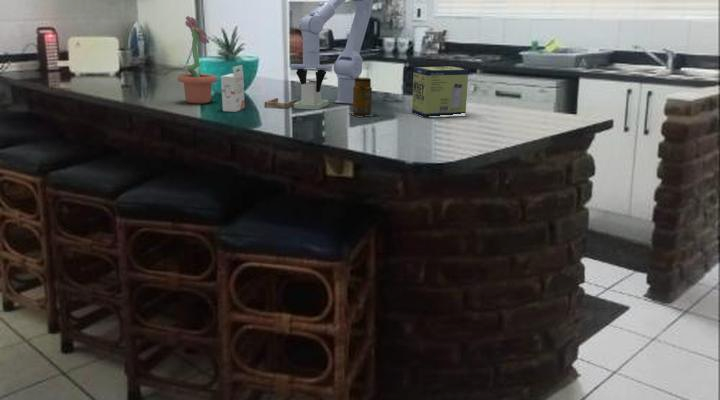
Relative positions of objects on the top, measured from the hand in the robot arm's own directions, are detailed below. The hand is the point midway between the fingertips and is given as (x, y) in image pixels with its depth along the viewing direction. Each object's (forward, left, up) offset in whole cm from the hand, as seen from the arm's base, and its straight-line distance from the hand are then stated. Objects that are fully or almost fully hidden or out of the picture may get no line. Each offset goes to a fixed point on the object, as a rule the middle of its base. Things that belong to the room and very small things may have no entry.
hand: (311, 91), depth 224 cm
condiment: (-22, +11, -6) cm, 25 cm away
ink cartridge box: (+22, +16, -6) cm, 28 cm away
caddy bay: (+10, +2, -5) cm, 12 cm away
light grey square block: (0, 0, -4) cm, 4 cm away
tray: (0, 0, -5) cm, 5 cm away
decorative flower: (+40, +6, -6) cm, 41 cm away
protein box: (-46, +2, -6) cm, 46 cm away
